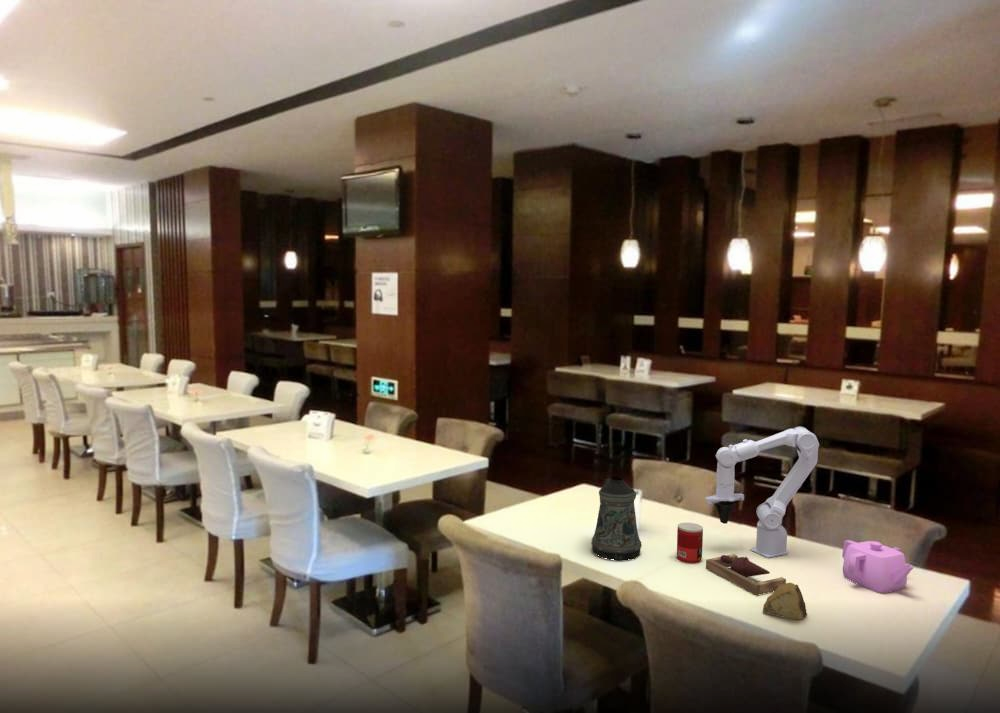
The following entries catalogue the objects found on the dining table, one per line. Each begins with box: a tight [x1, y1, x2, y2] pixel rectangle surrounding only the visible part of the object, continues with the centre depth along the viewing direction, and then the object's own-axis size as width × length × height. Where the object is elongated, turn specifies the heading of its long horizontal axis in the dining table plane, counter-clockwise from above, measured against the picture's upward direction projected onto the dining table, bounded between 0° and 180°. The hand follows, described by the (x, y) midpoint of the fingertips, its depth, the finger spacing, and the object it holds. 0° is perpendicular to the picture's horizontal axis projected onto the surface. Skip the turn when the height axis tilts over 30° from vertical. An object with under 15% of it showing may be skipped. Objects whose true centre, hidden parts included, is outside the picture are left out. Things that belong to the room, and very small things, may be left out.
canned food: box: [676, 522, 704, 564], centre depth 220 cm, size 8×8×11 cm
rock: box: [762, 582, 808, 620], centre depth 183 cm, size 11×9×10 cm
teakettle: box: [841, 539, 914, 594], centre depth 203 cm, size 17×17×12 cm
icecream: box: [720, 554, 770, 579], centre depth 206 cm, size 7×7×15 cm
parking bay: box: [705, 553, 787, 596], centre depth 206 cm, size 12×21×3 cm, turn 24°
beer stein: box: [591, 475, 642, 561], centre depth 227 cm, size 16×19×25 cm
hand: (723, 522), depth 228 cm, fingers closed
